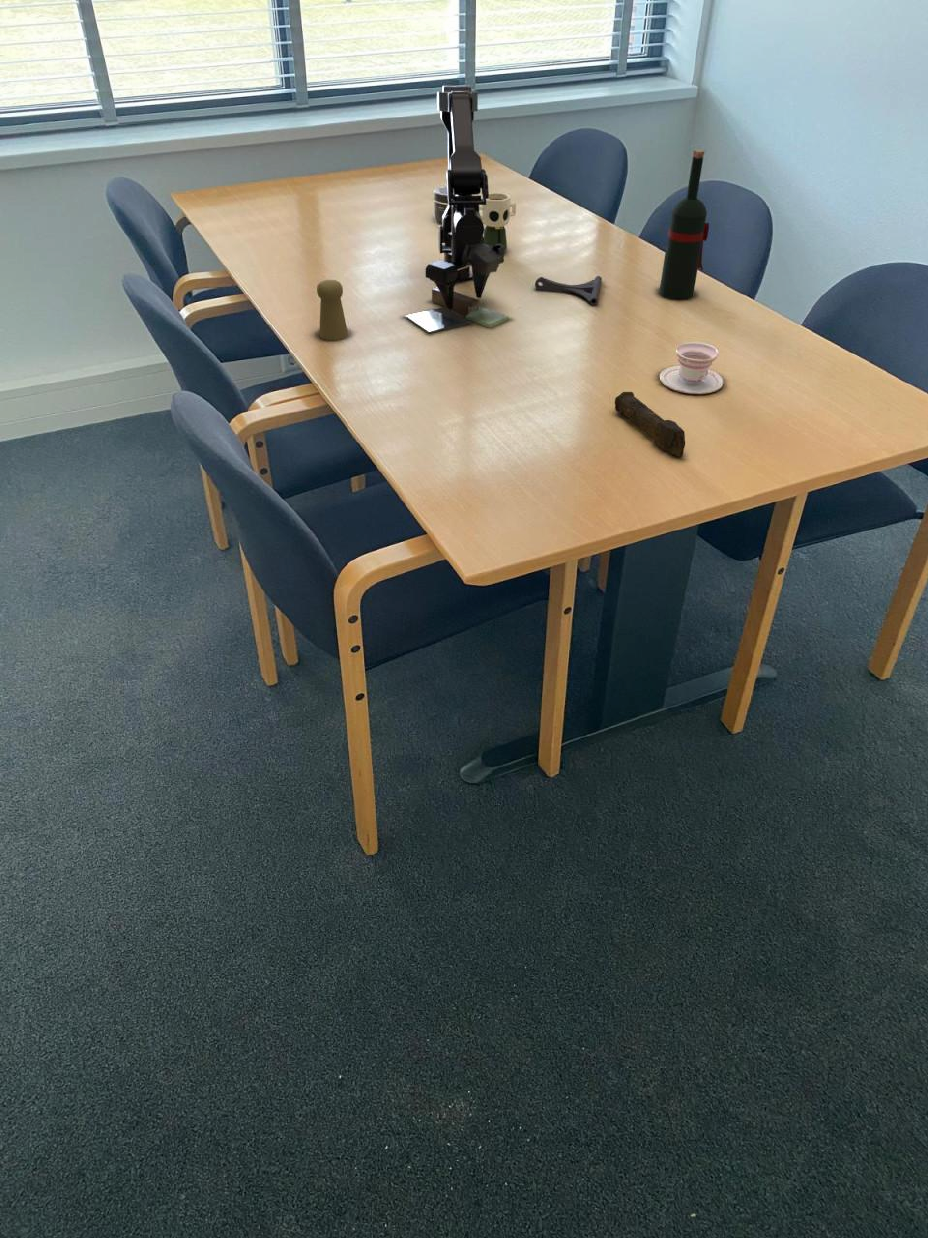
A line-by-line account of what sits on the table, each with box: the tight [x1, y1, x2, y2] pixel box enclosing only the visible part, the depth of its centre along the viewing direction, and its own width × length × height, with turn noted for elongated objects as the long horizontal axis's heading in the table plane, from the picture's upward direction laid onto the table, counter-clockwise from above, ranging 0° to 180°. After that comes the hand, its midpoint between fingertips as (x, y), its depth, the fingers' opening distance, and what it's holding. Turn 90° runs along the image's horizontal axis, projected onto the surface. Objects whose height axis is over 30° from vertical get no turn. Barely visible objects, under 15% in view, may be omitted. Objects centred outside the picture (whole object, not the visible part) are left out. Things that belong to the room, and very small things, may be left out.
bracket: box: [534, 275, 603, 306], centre depth 210 cm, size 14×15×3 cm
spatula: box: [431, 286, 509, 329], centre depth 200 cm, size 19×6×3 cm, turn 47°
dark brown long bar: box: [614, 391, 686, 458], centre depth 158 cm, size 19×4×5 cm, turn 21°
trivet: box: [405, 306, 470, 334], centre depth 197 cm, size 10×10×1 cm
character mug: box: [479, 192, 517, 252], centre depth 228 cm, size 11×7×13 cm, turn 111°
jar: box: [433, 185, 448, 225], centre depth 249 cm, size 10×10×8 cm
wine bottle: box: [658, 149, 710, 301], centre depth 202 cm, size 8×10×30 cm
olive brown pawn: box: [316, 279, 349, 341], centre depth 187 cm, size 6×6×11 cm
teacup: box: [659, 341, 724, 395], centre depth 173 cm, size 12×12×6 cm
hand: (464, 303), depth 200 cm, fingers open, 9 cm apart
